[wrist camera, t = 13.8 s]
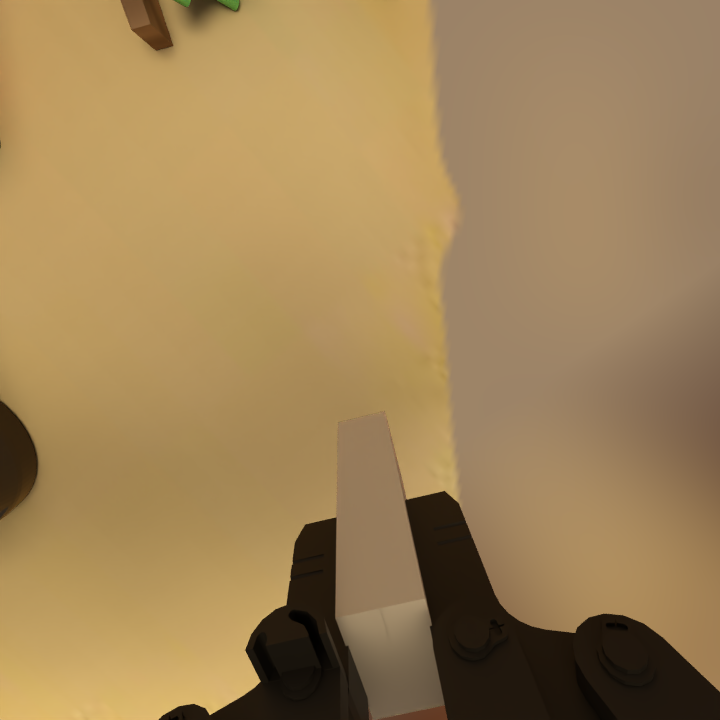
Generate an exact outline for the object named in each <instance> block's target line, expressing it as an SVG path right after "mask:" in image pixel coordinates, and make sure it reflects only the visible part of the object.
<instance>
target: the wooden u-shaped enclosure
mask: <svg viewBox="0 0 720 720" xmlns="http://www.w3.org/2000/svg"><path fill="white" fill-rule="evenodd" d="M121 3H122V5H123V8H124V11H125V14H126V16H127V19H128V22H129V25H130V28H131V30H132V31H134V32H135V33H136V34H137V35H138V36H139V37H141V38H142V39H143V40H144V41H145V42H147V43H148V44H149V45H150V46H151V47H153V48H154V49H155V50H159V49H163V48H166V47H170V46H173V44H172V41H171V38H170V35H169V32H168V29H167V26H166V23H165V20H164V17H163V14H162V11H161V8H160V5H159V2H158V0H121Z"/></svg>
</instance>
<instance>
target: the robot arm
mask: <svg viewBox="0 0 720 720" xmlns="http://www.w3.org/2000/svg"><path fill="white" fill-rule="evenodd" d="M35 476H36V456H35V451H34V448H33V445H32V442H31V440H30V438H29V436H28V434H27V432H26V431H25V429H24V427H23V426H22V425H21V423H20V422H19V420H18V419H17V418H16V417H15V416H14V415H13V414H12V413H11V411H10V410H9V409H7V408H6V407H5V406H4V405H3V404H2V403H1V402H0V520H1V519H2V518H4V517H5V516H6V515H7V514H8V513H9V512H10V511H11V510H13V509H14V508H15V507H16V506H17V505H18V504H19V503H20V502H21V501H22V500H23V499H24V498H25V497H26V496H27V494H28V493H29V492H30V490H31V488H32V486H33V483H34V480H35ZM290 577H291V581H290V583H289V591H288V598H287V605H286V606H283V607H281V608H278V609H276V610H274V611H273V612H272V613H271V614H269V615H268V616H267V617H265V618H264V619H263V620H262V621H261V622H260V624H259V625H258V626H257V628H256V629H255V630H254V632H253V633H252V634H251V637H250V639H249V642H248V645H247V647H246V650H245V651H246V653H247V655H248V657H249V659H250V661H251V663H252V665H253V667H254V669H255V671H256V673H257V675H258V677H259V679H260V681H261V682H260V683H259V684H258V685H257V686H256V687H255V688H254V689H252V690H251V691H249V692H248V693H247V694H245V695H244V696H242V697H240V698H239V699H237V700H235V701H234V702H232V703H230V704H228V705H227V706H225V707H223V708H222V709H220V710H218V711H216V712H215V713H213V714H211V715H209V713H208V712H207V710H206V709H205V708H203V707H200V706H198V705H195V704H190V705H184V706H179V707H177V708H175V709H173V710H172V711H170V712H168V713H166V714H165V715H163V716H162V717H161V718H160V719H159V720H369V712H368V707H369V710H370V712H371V715H372V718H373V720H376V719H381V718H386V717H390V716H395V715H400V714H405V713H410V712H414V711H419V710H424V709H429V708H434V707H439V706H443V705H445V708H446V713H447V718H448V720H720V692H719V691H718V690H717V689H716V688H715V687H714V686H713V685H712V684H711V683H710V682H709V681H708V680H707V679H706V678H704V677H703V676H702V675H701V674H700V673H699V672H698V671H697V670H696V669H695V668H694V667H693V666H692V665H691V664H690V663H689V662H687V661H686V659H684V658H683V657H682V656H681V655H680V654H679V653H678V652H677V651H676V650H675V649H674V648H673V647H672V646H671V645H670V644H669V643H668V642H667V641H666V640H665V639H663V638H662V637H661V636H660V635H658V634H657V633H656V632H654V631H653V630H652V629H650V628H649V627H648V626H646V625H645V624H643V623H641V622H638V621H636V620H633V619H631V618H628V617H626V616H623V615H613V614H601V615H597V616H593V617H590V618H588V619H587V620H585V621H584V622H583V623H582V624H581V625H580V626H579V627H577V630H576V633H569V632H561V631H552V630H544V629H540V628H536V627H532V626H529V625H527V624H525V623H523V622H520V621H518V620H517V619H516V618H514V617H513V616H511V615H510V614H509V613H508V612H507V611H506V610H505V609H504V608H503V607H502V606H501V605H500V603H499V601H498V599H497V598H496V596H495V594H494V591H493V589H492V586H491V584H490V581H489V579H488V576H487V574H486V571H485V569H484V566H483V564H482V561H481V558H480V556H479V553H478V551H477V548H476V546H475V543H474V541H473V538H472V536H471V534H470V531H469V528H468V526H467V524H466V521H465V518H464V516H463V513H462V511H461V508H460V506H459V503H458V502H456V501H455V500H454V499H453V498H452V497H451V496H450V495H448V494H447V493H446V492H445V491H443V492H439V493H434V494H430V495H426V496H421V497H417V498H413V499H408V500H407V499H406V495H405V490H404V486H403V481H402V477H401V473H400V469H399V465H398V461H397V457H396V454H395V450H394V446H393V442H392V438H391V434H390V430H389V426H388V422H387V418H386V414H385V411H383V412H379V413H375V414H370V415H366V416H362V417H358V418H354V419H350V420H345V421H341V422H338V451H337V517H336V518H332V519H327V520H323V521H319V522H314V523H310V524H306V525H305V526H304V528H303V529H302V531H301V533H300V535H299V536H298V538H297V540H296V542H295V546H294V554H293V565H292V569H291V576H290Z"/></svg>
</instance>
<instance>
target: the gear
mask: <svg viewBox="0 0 720 720" xmlns="http://www.w3.org/2000/svg"><path fill="white" fill-rule="evenodd" d="M174 1H176V2H178V3H179V4H181V5H183V6H185V7H188V6H189V4H190V2H191V0H174ZM217 1H219V2H220V3H222V4H224V5H226V6H227V7H229V8H231V9H232V10H234V11H236V10H237V8H238V6H239V0H217Z"/></svg>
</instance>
